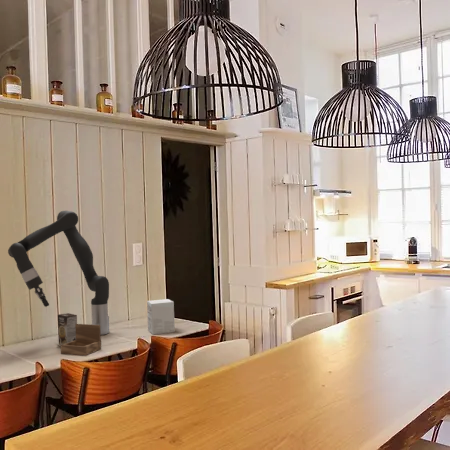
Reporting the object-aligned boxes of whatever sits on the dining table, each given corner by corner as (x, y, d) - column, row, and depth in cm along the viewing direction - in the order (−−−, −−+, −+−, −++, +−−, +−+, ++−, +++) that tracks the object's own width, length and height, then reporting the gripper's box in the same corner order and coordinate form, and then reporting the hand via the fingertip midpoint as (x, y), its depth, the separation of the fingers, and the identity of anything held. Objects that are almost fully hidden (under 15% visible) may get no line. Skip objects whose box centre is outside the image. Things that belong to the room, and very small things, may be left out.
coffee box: (58, 345, 257) (57, 314, 257) (69, 342, 261) (68, 312, 261) (66, 347, 251) (65, 316, 251) (78, 345, 255) (77, 314, 255)
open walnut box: (77, 347, 251) (76, 323, 251) (101, 348, 246) (100, 325, 246) (61, 353, 239) (60, 328, 239) (85, 355, 234) (84, 330, 234)
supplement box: (169, 327, 292) (168, 298, 292) (175, 332, 279) (174, 301, 279) (147, 330, 287) (146, 300, 287) (152, 334, 275) (151, 303, 275)
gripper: (39, 274, 247) (54, 302, 248) (38, 275, 260) (53, 302, 261) (24, 281, 244) (40, 310, 245) (24, 282, 257) (39, 309, 258)
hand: (47, 305), depth 253 cm, fingers open, 8 cm apart
